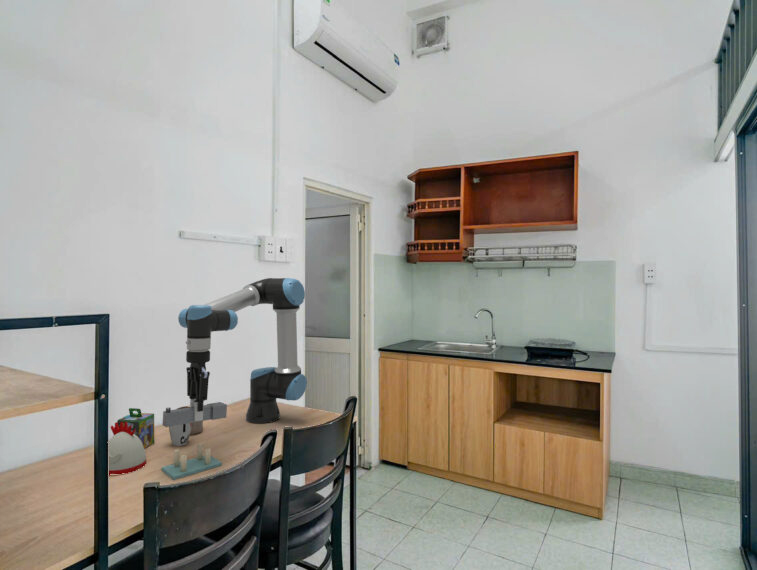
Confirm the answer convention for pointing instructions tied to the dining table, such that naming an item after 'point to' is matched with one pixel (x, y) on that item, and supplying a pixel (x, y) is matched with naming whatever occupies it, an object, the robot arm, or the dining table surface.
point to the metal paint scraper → (187, 414)
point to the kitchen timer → (125, 450)
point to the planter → (194, 425)
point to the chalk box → (140, 425)
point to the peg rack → (191, 464)
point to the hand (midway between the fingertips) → (196, 419)
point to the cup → (180, 434)
